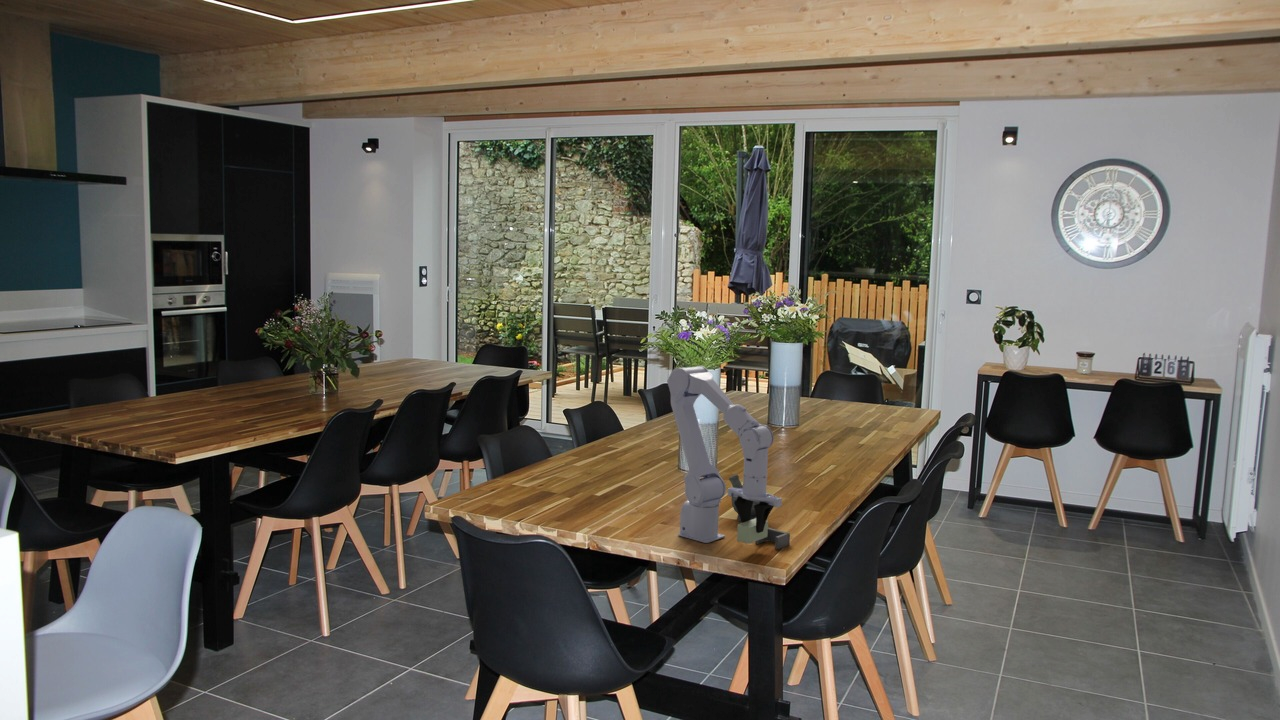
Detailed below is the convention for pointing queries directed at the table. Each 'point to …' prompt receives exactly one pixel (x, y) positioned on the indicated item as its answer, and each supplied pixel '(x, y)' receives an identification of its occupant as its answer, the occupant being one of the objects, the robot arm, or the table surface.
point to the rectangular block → (750, 532)
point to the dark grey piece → (776, 538)
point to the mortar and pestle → (736, 484)
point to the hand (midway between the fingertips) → (752, 530)
